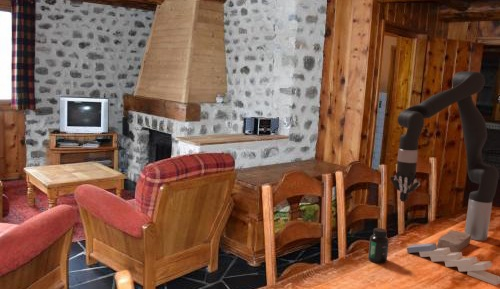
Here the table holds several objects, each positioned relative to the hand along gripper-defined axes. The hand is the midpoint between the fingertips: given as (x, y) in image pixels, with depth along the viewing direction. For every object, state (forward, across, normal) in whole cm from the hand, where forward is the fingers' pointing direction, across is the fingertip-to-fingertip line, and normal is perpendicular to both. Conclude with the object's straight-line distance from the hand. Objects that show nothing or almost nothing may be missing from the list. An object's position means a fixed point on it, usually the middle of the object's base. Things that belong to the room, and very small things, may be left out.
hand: (403, 201), depth 185 cm
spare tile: (+18, +6, -3) cm, 19 cm away
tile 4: (+18, +22, -4) cm, 29 cm away
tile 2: (+18, +12, -3) cm, 22 cm away
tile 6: (+18, +30, -4) cm, 36 cm away
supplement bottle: (+18, +4, -23) cm, 29 cm away
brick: (+20, +14, +18) cm, 30 cm away
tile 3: (+18, +16, -4) cm, 25 cm away
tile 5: (+18, +27, -4) cm, 33 cm away
